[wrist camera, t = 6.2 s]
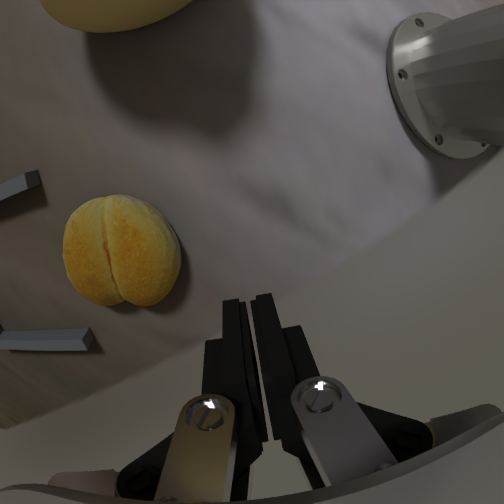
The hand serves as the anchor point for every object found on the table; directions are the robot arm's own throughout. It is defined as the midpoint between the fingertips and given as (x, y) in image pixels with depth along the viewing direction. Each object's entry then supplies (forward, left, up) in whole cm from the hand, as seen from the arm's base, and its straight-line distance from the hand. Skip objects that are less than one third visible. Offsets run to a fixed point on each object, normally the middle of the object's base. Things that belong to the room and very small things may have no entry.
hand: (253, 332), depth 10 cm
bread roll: (+9, 0, -12) cm, 15 cm away
